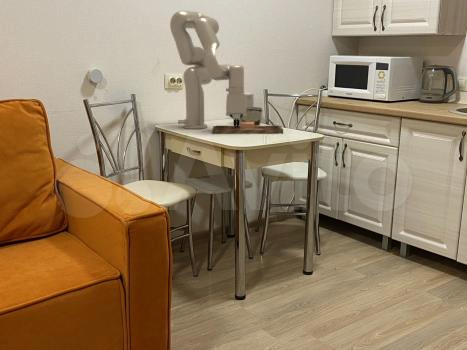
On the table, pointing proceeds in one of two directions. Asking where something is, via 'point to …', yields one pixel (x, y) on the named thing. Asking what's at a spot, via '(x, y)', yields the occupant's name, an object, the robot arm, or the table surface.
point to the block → (246, 125)
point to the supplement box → (249, 104)
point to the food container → (253, 115)
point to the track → (247, 130)
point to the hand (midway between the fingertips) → (236, 127)
